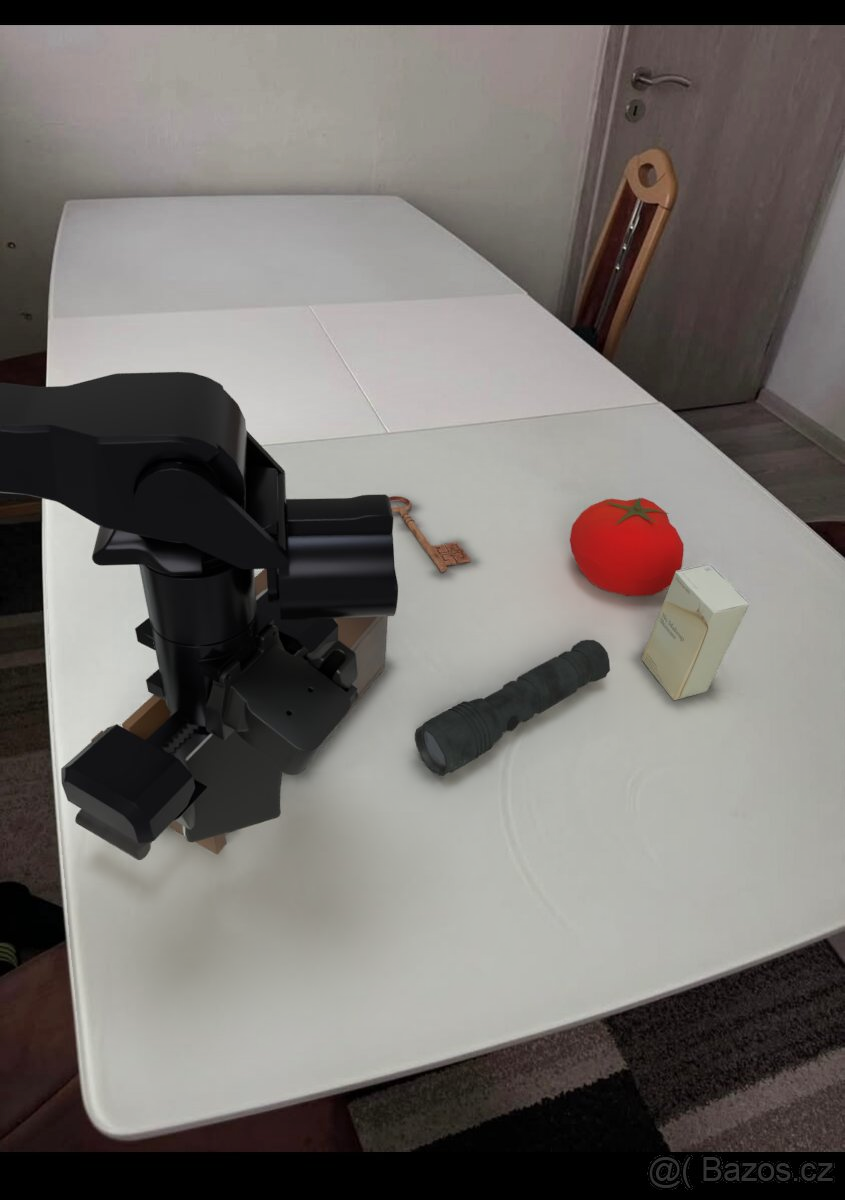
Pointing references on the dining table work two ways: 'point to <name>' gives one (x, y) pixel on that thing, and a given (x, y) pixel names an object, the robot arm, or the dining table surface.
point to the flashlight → (507, 708)
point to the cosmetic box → (694, 630)
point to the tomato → (627, 546)
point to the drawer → (144, 726)
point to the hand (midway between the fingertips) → (226, 781)
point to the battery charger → (232, 787)
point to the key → (430, 549)
